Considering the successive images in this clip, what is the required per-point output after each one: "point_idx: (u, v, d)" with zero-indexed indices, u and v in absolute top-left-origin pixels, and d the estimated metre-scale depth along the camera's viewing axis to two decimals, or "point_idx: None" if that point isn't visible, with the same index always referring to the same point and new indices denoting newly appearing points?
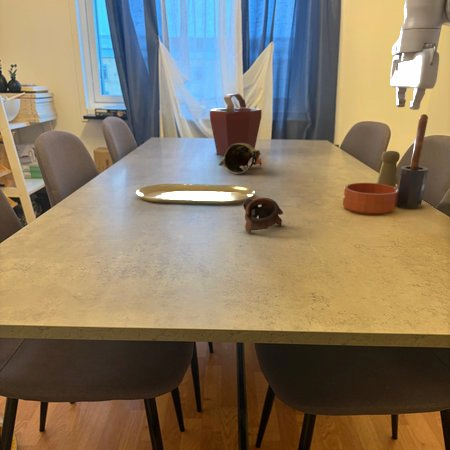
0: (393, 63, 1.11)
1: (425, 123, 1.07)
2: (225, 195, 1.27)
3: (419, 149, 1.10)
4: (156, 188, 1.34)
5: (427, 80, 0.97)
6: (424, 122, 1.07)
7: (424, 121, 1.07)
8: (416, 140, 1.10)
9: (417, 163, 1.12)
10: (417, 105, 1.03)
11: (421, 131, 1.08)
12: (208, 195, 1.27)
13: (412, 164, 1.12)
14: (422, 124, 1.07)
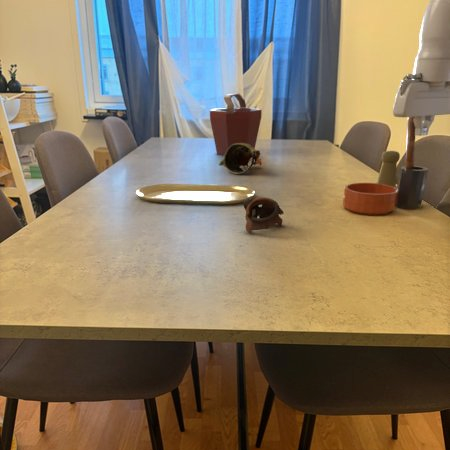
0: None
1: None
2: (225, 195, 1.27)
3: (412, 149, 1.11)
4: (156, 188, 1.34)
5: (396, 109, 1.02)
6: (413, 122, 1.08)
7: (413, 121, 1.08)
8: (407, 140, 1.10)
9: (411, 163, 1.12)
10: (418, 131, 1.08)
11: (411, 131, 1.09)
12: (208, 195, 1.27)
13: (407, 164, 1.13)
14: (411, 125, 1.08)
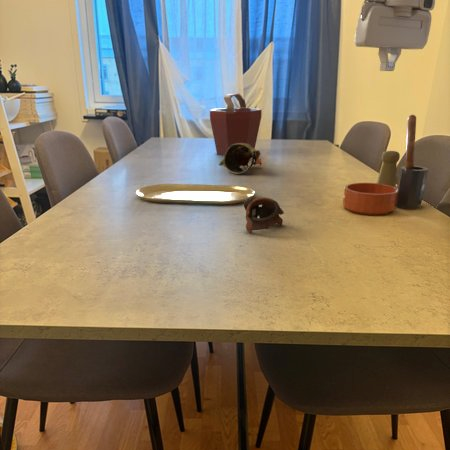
0: None
1: (414, 123, 1.08)
2: (225, 195, 1.27)
3: (412, 149, 1.11)
4: (156, 188, 1.34)
5: (358, 37, 0.93)
6: (413, 122, 1.08)
7: (413, 121, 1.08)
8: (407, 140, 1.10)
9: (411, 163, 1.12)
10: (384, 66, 0.99)
11: (411, 131, 1.09)
12: (208, 195, 1.27)
13: (407, 164, 1.13)
14: (411, 125, 1.08)
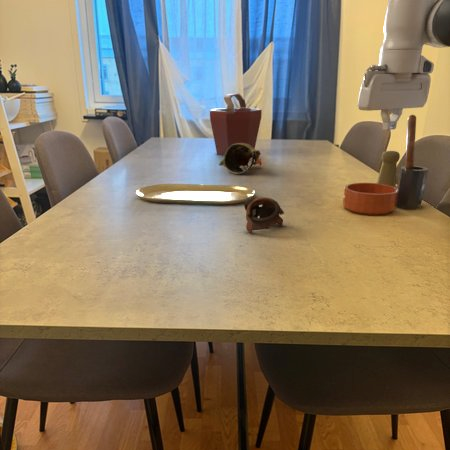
0: None
1: (414, 123, 1.08)
2: (225, 195, 1.27)
3: (412, 149, 1.11)
4: (156, 188, 1.34)
5: (361, 102, 0.98)
6: (413, 122, 1.08)
7: (413, 121, 1.08)
8: (407, 140, 1.10)
9: (411, 163, 1.12)
10: (386, 125, 1.04)
11: (411, 131, 1.09)
12: (208, 195, 1.27)
13: (407, 164, 1.13)
14: (411, 125, 1.08)
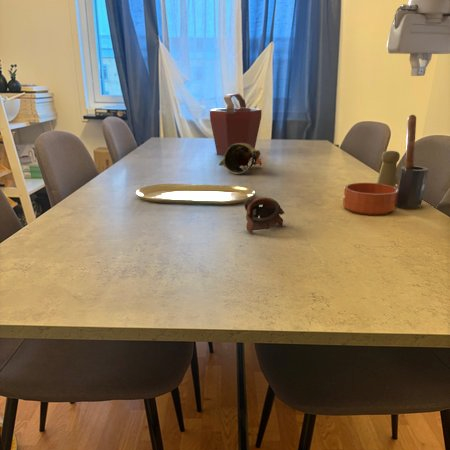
0: None
1: (414, 123, 1.08)
2: (225, 195, 1.27)
3: (412, 149, 1.11)
4: (156, 188, 1.34)
5: (391, 44, 0.96)
6: (413, 122, 1.08)
7: (413, 121, 1.08)
8: (407, 140, 1.10)
9: (411, 163, 1.12)
10: (415, 71, 1.02)
11: (411, 131, 1.09)
12: (208, 195, 1.27)
13: (407, 164, 1.13)
14: (411, 125, 1.08)
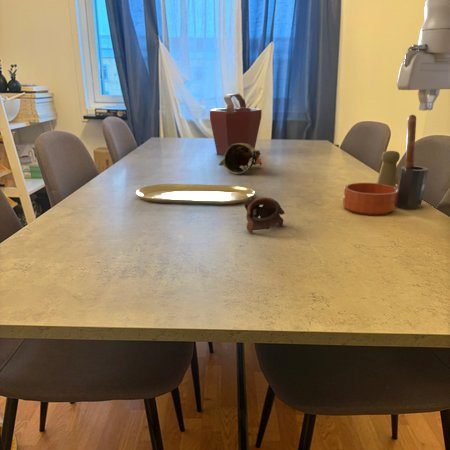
0: None
1: (414, 123, 1.08)
2: (225, 195, 1.27)
3: (412, 149, 1.11)
4: (156, 188, 1.34)
5: (401, 81, 1.00)
6: (413, 122, 1.08)
7: (413, 121, 1.08)
8: (407, 140, 1.10)
9: (411, 163, 1.12)
10: (423, 106, 1.05)
11: (411, 131, 1.09)
12: (208, 195, 1.27)
13: (407, 164, 1.13)
14: (411, 125, 1.08)
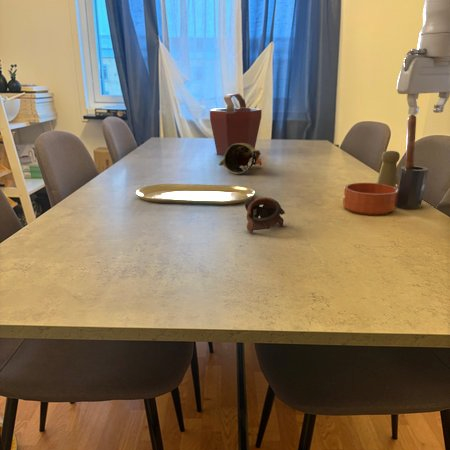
0: None
1: (414, 123, 1.08)
2: (225, 195, 1.27)
3: (412, 149, 1.11)
4: (156, 188, 1.34)
5: (400, 86, 1.00)
6: (413, 122, 1.08)
7: (413, 121, 1.08)
8: (407, 140, 1.10)
9: (411, 163, 1.12)
10: (412, 110, 1.04)
11: (411, 131, 1.09)
12: (208, 195, 1.27)
13: (407, 164, 1.13)
14: (411, 125, 1.08)
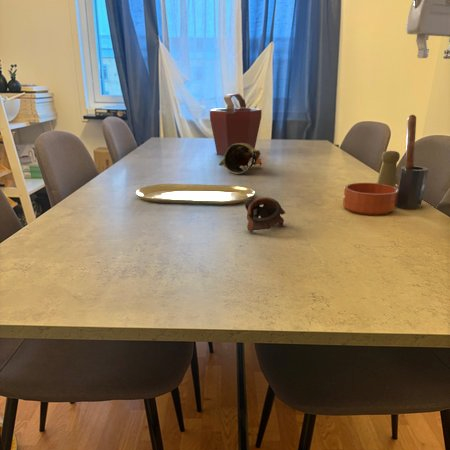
0: None
1: (414, 123, 1.08)
2: (225, 195, 1.27)
3: (412, 149, 1.11)
4: (156, 188, 1.34)
5: (410, 24, 0.94)
6: (413, 122, 1.08)
7: (413, 121, 1.08)
8: (407, 140, 1.10)
9: (411, 163, 1.12)
10: (421, 53, 0.98)
11: (411, 131, 1.09)
12: (208, 195, 1.27)
13: (407, 164, 1.13)
14: (411, 125, 1.08)
